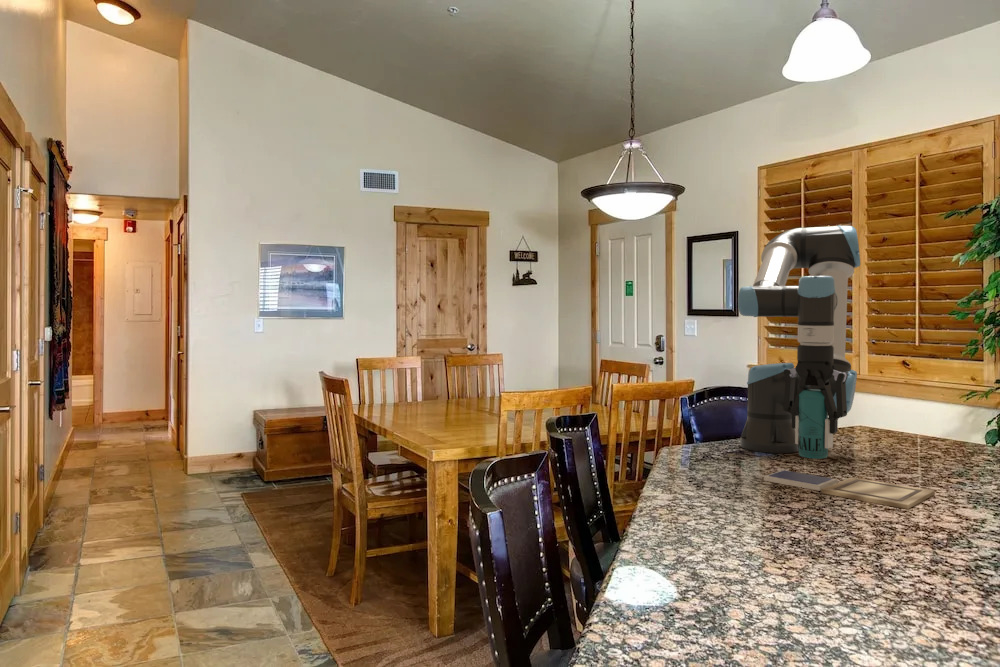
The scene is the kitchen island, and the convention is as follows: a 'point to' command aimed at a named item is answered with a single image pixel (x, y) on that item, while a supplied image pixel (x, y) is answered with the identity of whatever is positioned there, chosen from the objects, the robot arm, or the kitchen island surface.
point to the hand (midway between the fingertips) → (813, 445)
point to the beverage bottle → (812, 422)
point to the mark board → (878, 492)
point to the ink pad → (800, 480)
